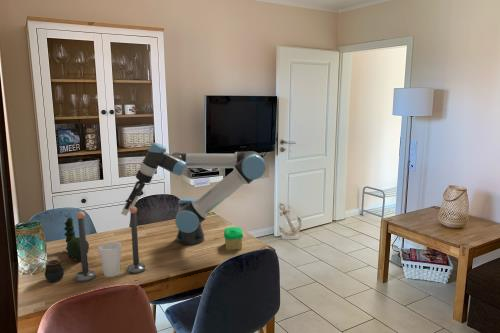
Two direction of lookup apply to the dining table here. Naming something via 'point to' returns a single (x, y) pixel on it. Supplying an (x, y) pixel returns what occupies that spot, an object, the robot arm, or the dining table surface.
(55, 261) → the mate gourd
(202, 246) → the dining table surface
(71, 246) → the toy figurine
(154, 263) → the dining table surface
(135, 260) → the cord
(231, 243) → the cake
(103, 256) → the foam cup
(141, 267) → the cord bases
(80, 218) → the dark gray rod
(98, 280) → the dining table surface
